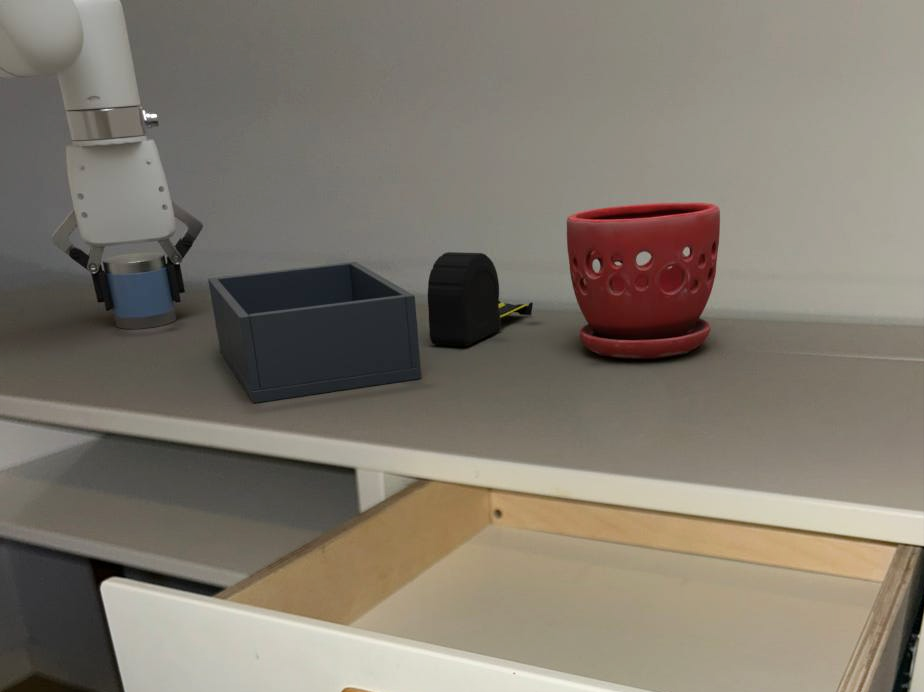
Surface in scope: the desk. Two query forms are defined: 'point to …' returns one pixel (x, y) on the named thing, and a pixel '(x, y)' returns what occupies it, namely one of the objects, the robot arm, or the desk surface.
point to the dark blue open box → (315, 330)
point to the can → (140, 290)
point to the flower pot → (644, 277)
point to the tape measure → (466, 299)
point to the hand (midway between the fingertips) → (142, 303)
